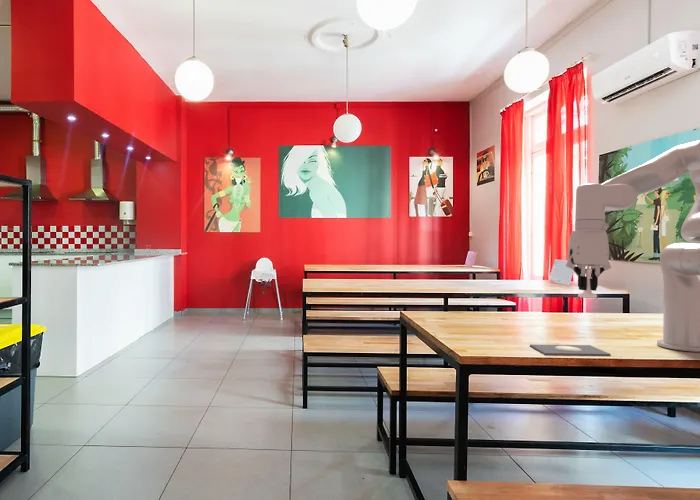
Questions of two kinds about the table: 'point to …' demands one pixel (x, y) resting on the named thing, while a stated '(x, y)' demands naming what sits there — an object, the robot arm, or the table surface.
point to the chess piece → (588, 285)
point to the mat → (569, 350)
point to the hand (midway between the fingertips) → (587, 289)
